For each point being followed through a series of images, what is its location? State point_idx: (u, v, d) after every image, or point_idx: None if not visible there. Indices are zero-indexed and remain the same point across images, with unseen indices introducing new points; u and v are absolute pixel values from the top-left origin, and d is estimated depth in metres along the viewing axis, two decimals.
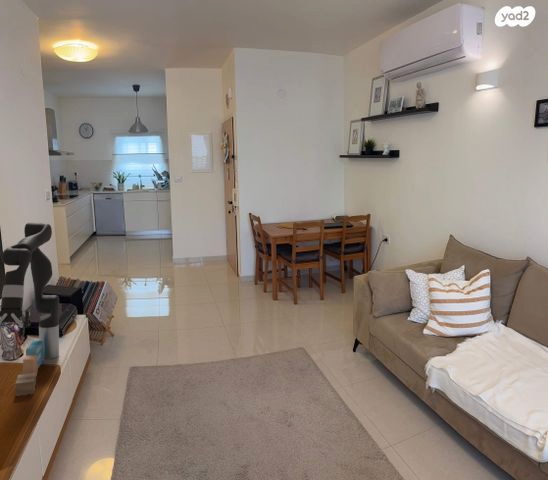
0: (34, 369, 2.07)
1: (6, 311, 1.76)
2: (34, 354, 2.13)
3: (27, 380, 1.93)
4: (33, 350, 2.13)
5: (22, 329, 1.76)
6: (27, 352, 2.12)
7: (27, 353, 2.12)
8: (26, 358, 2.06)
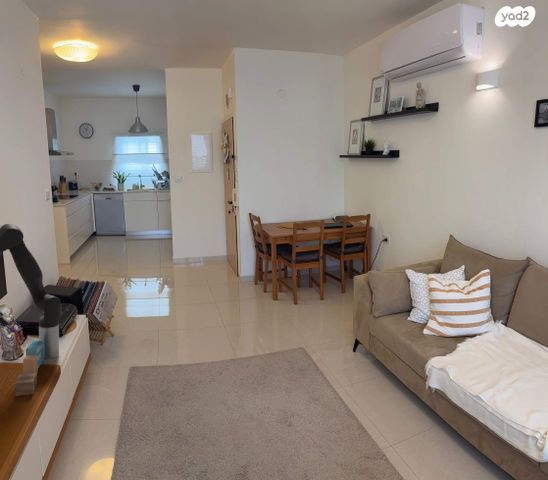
0: (34, 369, 2.07)
1: None
2: (34, 354, 2.13)
3: (27, 380, 1.93)
4: (33, 350, 2.13)
5: None
6: (27, 352, 2.12)
7: (27, 353, 2.12)
8: (26, 358, 2.06)
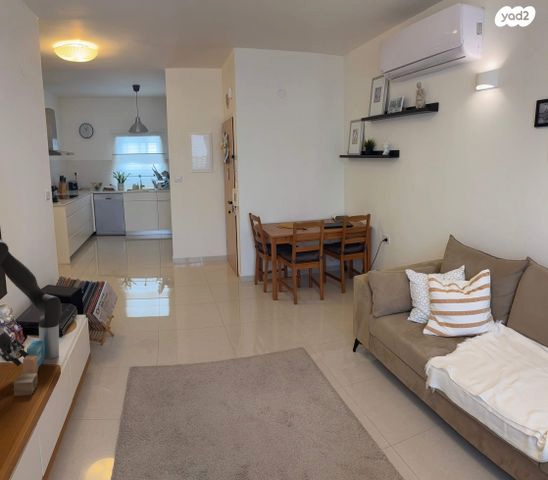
0: (34, 369, 2.07)
1: None
2: (35, 354, 2.13)
3: (26, 380, 1.93)
4: (34, 350, 2.13)
5: None
6: (28, 352, 2.13)
7: (28, 353, 2.13)
8: (26, 358, 2.06)
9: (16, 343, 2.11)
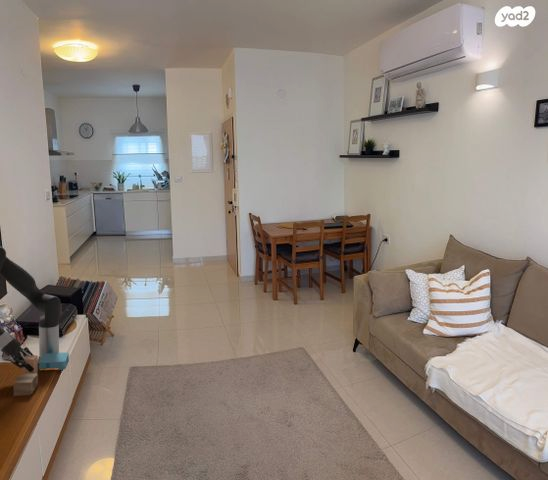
0: (34, 369, 2.07)
1: None
2: None
3: (25, 380, 1.93)
4: (63, 367, 2.18)
5: None
6: (61, 363, 2.17)
7: (59, 363, 2.17)
8: (26, 358, 2.06)
9: (26, 351, 2.12)
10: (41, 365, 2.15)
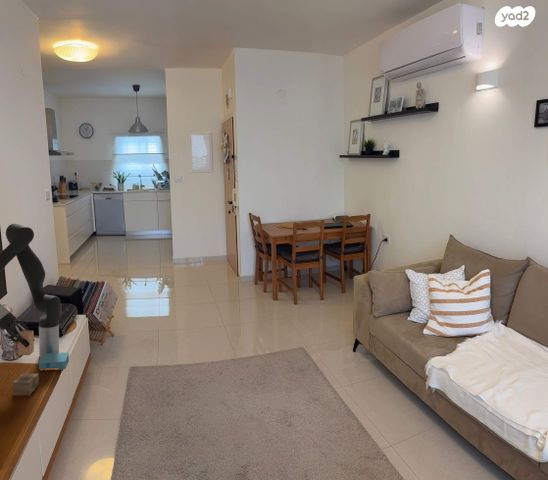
0: (30, 344, 1.99)
1: None
2: None
3: (25, 381, 1.93)
4: (63, 367, 2.18)
5: None
6: (61, 363, 2.17)
7: (59, 363, 2.17)
8: (22, 333, 1.98)
9: (22, 326, 2.04)
10: (41, 365, 2.15)
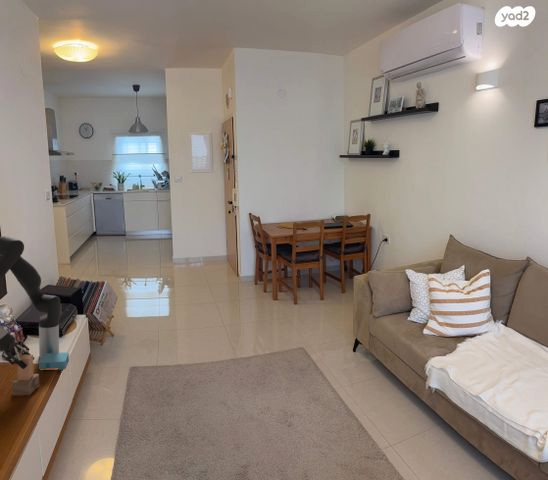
0: (29, 369, 1.94)
1: None
2: None
3: (24, 381, 1.93)
4: (63, 367, 2.18)
5: None
6: (61, 363, 2.17)
7: (59, 363, 2.17)
8: (21, 358, 1.93)
9: (20, 345, 1.99)
10: (41, 365, 2.15)
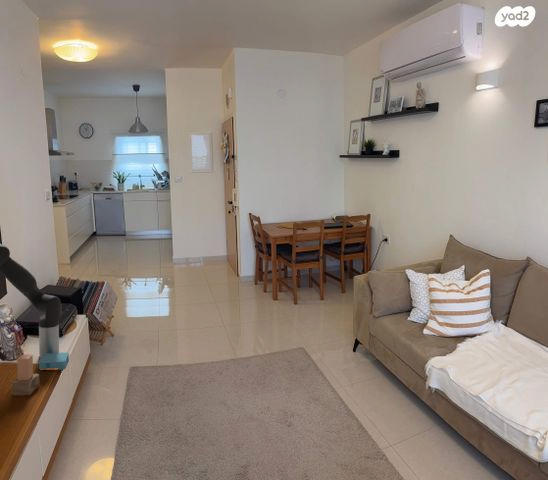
0: (29, 369, 1.94)
1: None
2: None
3: (24, 381, 1.93)
4: (63, 367, 2.18)
5: None
6: (61, 363, 2.17)
7: (59, 363, 2.17)
8: (21, 358, 1.93)
9: None
10: (41, 365, 2.15)
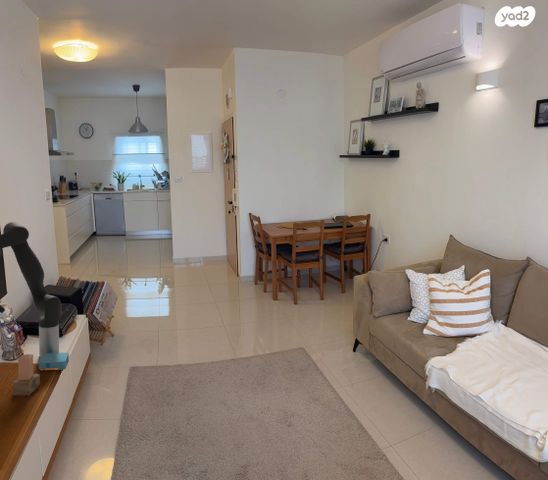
0: (30, 368, 1.94)
1: None
2: None
3: (25, 381, 1.93)
4: (63, 367, 2.18)
5: None
6: (61, 363, 2.17)
7: (59, 363, 2.17)
8: (22, 357, 1.93)
9: None
10: (41, 365, 2.15)
